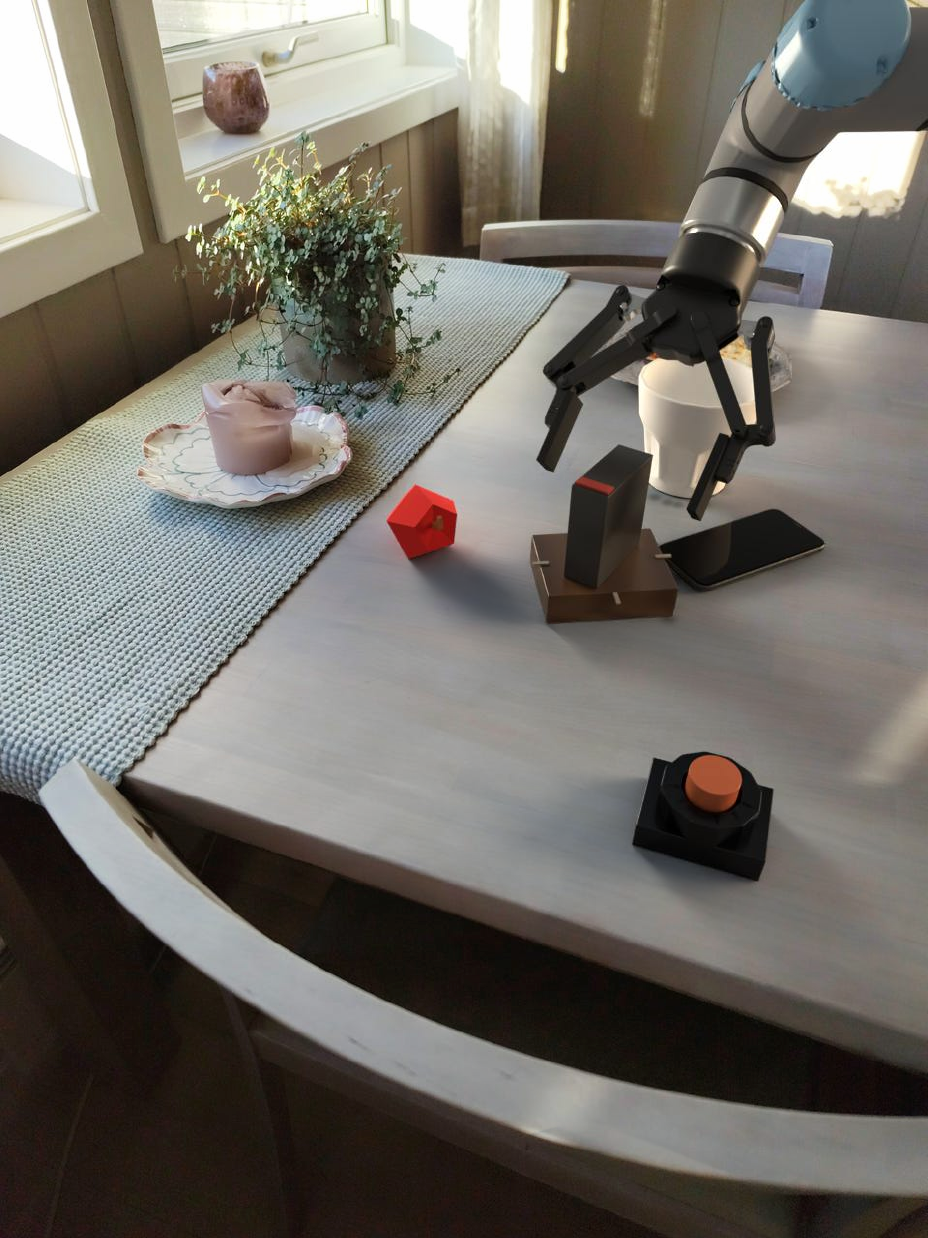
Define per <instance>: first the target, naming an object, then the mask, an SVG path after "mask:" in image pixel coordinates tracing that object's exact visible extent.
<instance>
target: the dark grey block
mask: <svg viewBox="0 0 928 1238" xmlns="http://www.w3.org/2000/svg"><path fill="white" fill-rule="evenodd" d="M652 460H653V455H652V454H649V453H646V452H645V451H643V450H639V449H636V448H633V447H629V446H626V445H623V444H617V445H616V446H615V447H613V448H612V449H611V450H610V451H609V452H608V453H607V454H605V456H603V457H602V458H601V459H600V460H599V461H598V462H596V464H594V465H593V466H591V468H590V469H588V470H587V471H586V472H584V474H583V475H582V476H579V478H577V479H576V480H575V481H574V482H573V483H572V484H571V490H570V491H571V493H570V502H569V511H568V512H569V513H568V523H567V524H568V525H567V532H566V533H567V544H566V555H565V566H564V577H567V578H569V579H572V580H574V581H577V582H579V583H582V584H584V585H587V586H589V587H592V588H594V589H597V588H598V587H599V586H600V585H601V584H602V583H603V582H604V581H605V580H606V579H607V578H608V577H609V576H610V575H611V574H612V572H613V571H614V570H615V569H616V568H617V567H618V566H619V565H620V564H621V563H622V562H623V561H624V560H625V559H626V558H627V557H628V555H629V554H630V553H631V552H632V551H633V550H634V549H635V548H636V547H637V546H638V545H639V542H640V535H641V529H643V522H644V517H645V509H646V502H647V496H648V491H649V484H650V483H649V478H650V472H651V466H652Z"/></svg>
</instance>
